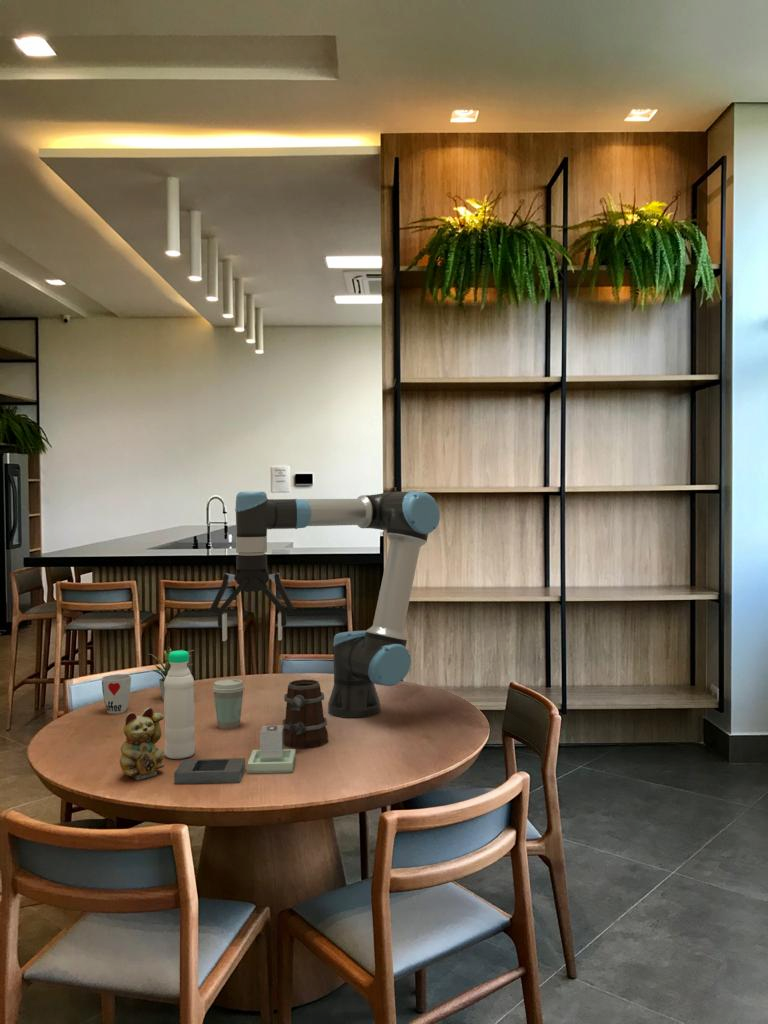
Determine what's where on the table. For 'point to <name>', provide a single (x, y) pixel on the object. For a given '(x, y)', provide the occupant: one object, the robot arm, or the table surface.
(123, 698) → the cup
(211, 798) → the table surface
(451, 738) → the table surface
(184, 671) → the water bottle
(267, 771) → the parts tray
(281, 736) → the block
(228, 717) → the coffee cup
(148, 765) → the decorative figurine
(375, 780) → the table surface
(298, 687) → the mug
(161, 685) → the house plant
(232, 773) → the grey rectangular frame
